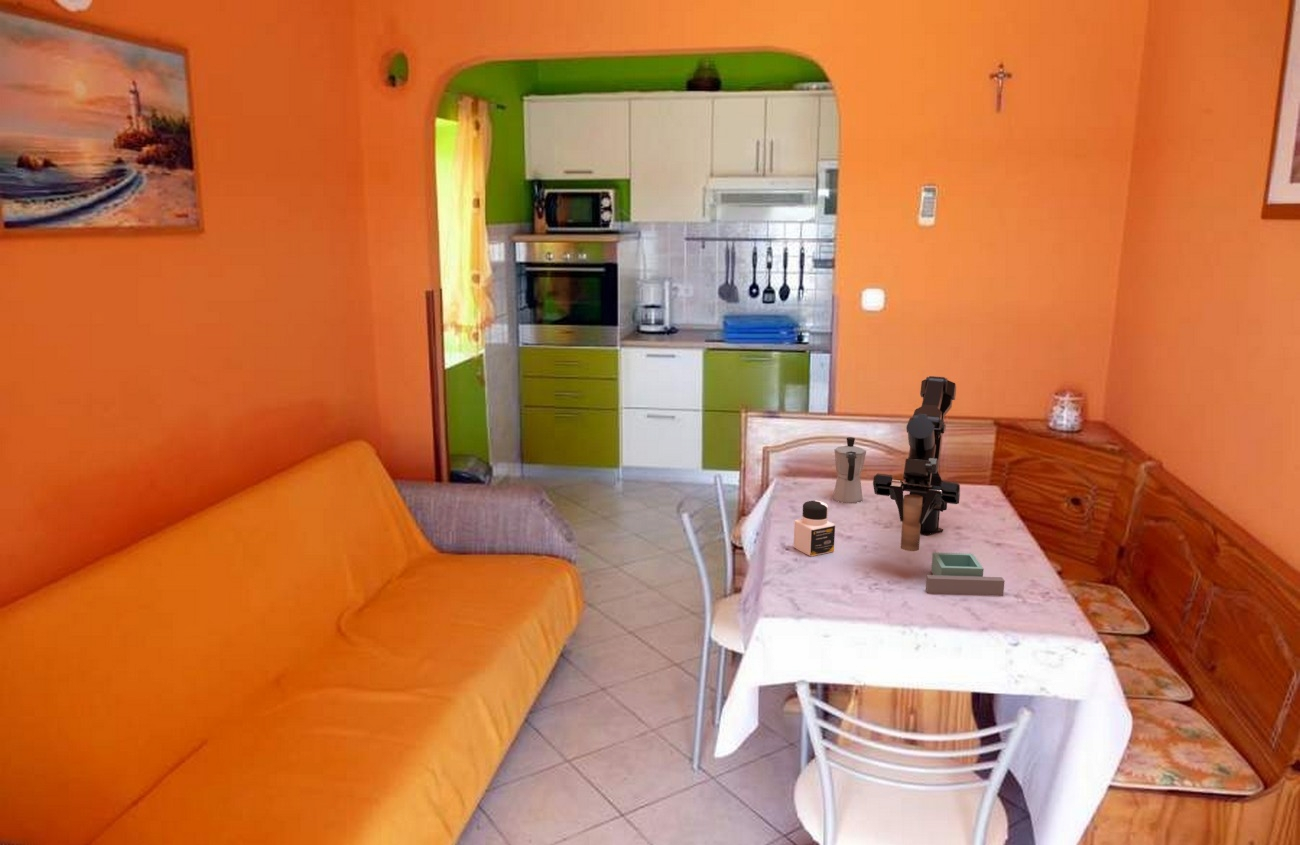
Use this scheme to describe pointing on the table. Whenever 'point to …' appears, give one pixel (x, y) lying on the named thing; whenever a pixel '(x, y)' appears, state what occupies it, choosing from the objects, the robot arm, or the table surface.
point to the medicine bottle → (814, 530)
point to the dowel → (911, 522)
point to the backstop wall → (965, 585)
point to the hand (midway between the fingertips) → (911, 522)
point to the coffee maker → (849, 472)
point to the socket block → (956, 565)
